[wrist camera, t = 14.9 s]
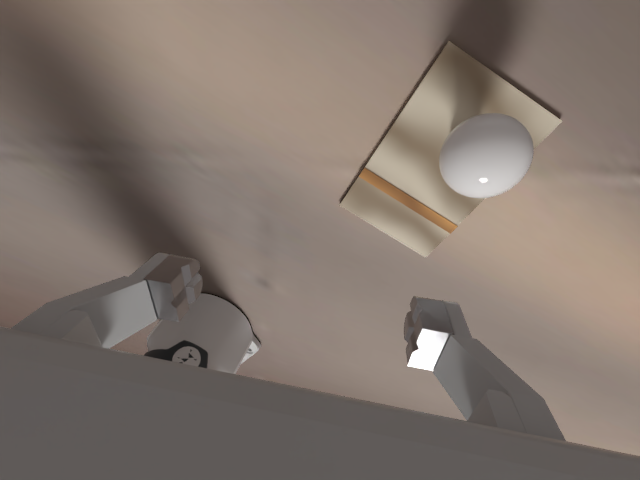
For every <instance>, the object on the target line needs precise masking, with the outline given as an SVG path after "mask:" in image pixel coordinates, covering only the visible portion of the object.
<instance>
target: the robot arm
mask: <svg viewBox="0 0 640 480" xmlns="http://www.w3.org/2000/svg"><path fill="white" fill-rule="evenodd" d="M199 270H200V263H199V261H198V260H197V259H193V258H187V257H182V256H177V255H171V254H166V253H156V254H155V255H154V256H153V257H152V258H150V259H149V260H148V261H147V262H146V263H144V264H143V265H142V266H141V267H140V268H138V269H137V270H136V271H135V272H134V273H132V274H131V275H130V276H129V277H126V276H124V277H121V278H118V279H115V280H112V281H109V282H106V283H103V284H100V285H97V286H95V287H92V288H89V289H86V290H83V291H80V292H77V293H74V294H71V295H68V296H65V297H63V298H60V299H57V300H54V301H51V302H48V303H46V304H44V305H43V306H42V307H40V308H39V309H37V310H36V311H35V312H33V313H32V314H30V315H29V316H27V317H26V318H25V319H23V320H22V321H20V322H19V323H18V324H16V325H15V326H13V327H12V328H11V329H10V328H5V327H0V480H640V456H636V455H631V454H626V453H621V452H616V451H611V450H606V449H601V448H596V447H591V446H587V445H582V444H577V443H572V442H567V441H566V440H565V438H564V436H563V435H562V433H561V431H560V429H559V427H558V425H557V423H556V421H555V419H554V417H553V416H552V414H551V412H550V410H549V408H548V406H547V404H546V402H545V400H544V399H543V398H542V397H541V396H540V395H539V394H538V393H537V392H535V391H534V390H533V389H532V388H531V387H530V386H529V385H528V384H526V383H525V382H524V381H523V380H522V379H521V378H520V377H519V376H518V375H516V374H515V373H514V372H513V371H512V370H511V369H510V368H509V367H507V366H506V365H505V364H504V363H503V362H502V361H501V360H500V359H499V358H497V357H496V356H495V355H494V354H493V353H492V352H491V351H490V350H488V349H487V348H486V347H485V346H484V345H483V344H482V343H481V342H480V341H478V340H477V339H474V338H472V336H471V333H470V331H469V328H468V326H467V323H466V321H465V318H464V316H463V313H462V310H461V308H460V305H459V304H458V303H457V302H450V301H443V300H442V301H441V300H435V299H429V298H423V297H417V296H414V297H413V298H412V300H411V303H410V307H411V311H410V312H408V313H407V315H406V318H405V323H404V339H405V340H406V341H407V342H408V345H407V347H406V355H407V362H408V366H412V367H417V368H421V369H426V370H431V371H433V373H434V375H435V376H436V377H437V379H438V380H439V382H440V383H441V384H442V386H443V387H444V389H445V390H446V392H447V393H448V394H449V396H450V397H451V399H452V400H453V401H454V403H455V404H456V406H457V407H458V409H459V410H460V411H461V413H462V414H463V416H464V417H465V418H466V420H467V421H463V420H458V419H453V418H449V417H444V416H439V415H434V414H429V413H424V412H419V411H414V410H409V409H404V408H399V407H394V406H390V405H385V404H380V403H375V402H370V401H365V400H360V399H355V398H350V397H345V396H340V395H335V394H330V393H325V392H321V391H316V390H311V389H306V388H301V387H296V386H291V385H286V384H281V383H276V382H271V381H266V380H261V379H256V378H252V377H247V376H242V375H237V374H235V373H236V372H237V370H238V368H239V366H240V364H242V363H243V362H244V361H246V360H247V359H248V358H250V357H251V356H252V355H253V354H255V353H256V352H257V351H258V350H259V348H260V347H261V345H260V343H259V341H258V340H257V339H256V337H255V336H254V335H253V332H252V329H251V326H250V323H249V322H248V320H247V318H246V317H245V316H244V314H243V313H242V312H241V311H240V310H239V309H238V308H236V307H235V306H234V305H232V304H231V303H229V302H228V301H226V300H224V299H222V298H219V297H217V296H214V295H210V294H203V293H201V290H202V286H203V281H202V277H201V276H200V275H199V273H198V271H199ZM157 319H161V320H160V322H159V323H158V324H157V325H156V327H155V328H154V329H153V330H152V332H151V333H150V334H149V335H148V337H147V341H148V342H147V347H148V352H147V353H146V354H145V355H144V356H143V355H138V354H133V353H128V352H123V351H118V350H113V349H109V348H111V347H112V346H114V345H116V344H117V343H119V342H121V341H122V340H124V339H126V338H127V337H129V336H131V335H133V334H134V333H136V332H138V331H139V330H141V329H143V328H144V327H146V326H148V325H149V324H151V323H153V322H154V321H156V320H157Z"/></svg>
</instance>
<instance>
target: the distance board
mask: <svg viewBox="0 0 640 480" xmlns="http://www.w3.org/2000/svg"><path fill="white" fill-rule="evenodd" d="M485 113H501V114H506V115H509V116H511V117H513V118H515V119H517V120H519V121H520V122H521V123H522V124H523V125H524V126H525V127H526V128H527V129H528V131H529V133H530V135H531V137H532V140H533V145H534V149H535V148H536V147H537V146H538V145H539V144H540V143H541V142H542V141H543V140H544V139H545V138H546V137H547V136H548V135H549V134H550V133H551V132H552V131H553V130H554V129H555V128H556V127H557V126H558V125H559V124H560V123H561V122H562V121H561V120H560V119H559V118H557V117H556V116H554V115H553V114H552V113H550V112H549V111H547V110H546V109H545V108H543V107H542V106H540V105H539V104H538V103H536V102H535V101H533V100H532V99H530V98H529V97H528V96H526V95H525V94H523V93H522V92H521V91H519V90H518V89H516V88H515V87H514V86H512V85H511V84H509V83H508V82H506V81H505V80H504V79H502V78H501V77H499V76H498V75H497V74H495V73H494V72H492V71H491V70H490V69H488V68H487V67H485V66H484V65H483V64H481V63H480V62H478V61H477V60H475V59H474V58H473V57H471V56H470V55H468V54H467V53H466V52H464V51H463V50H461V49H460V48H459V47H457V46H456V45H454V44H453V43H451V42H450V41H448V42H447V44H446V45H445V47H444V48H443V50H442V51H441V53H440V54H439V56H438V57H437V59H436V60H435V62H434V63H433V65H432V66H431V68H430V69H429V71H428V72H427V74H426V75H425V77H424V78H423V80H422V81H421V83H420V84H419V86H418V87H417V89H416V90H415V92H414V93H413V95H412V96H411V98H410V99H409V101H408V102H407V104H406V105H405V107H404V108H403V110H402V111H401V113H400V114H399V116H398V117H397V119H396V120H395V122H394V123H393V125H392V126H391V128H390V129H389V131H388V132H387V134H386V135H385V137H384V138H383V140H382V141H381V143H380V144H379V146H378V147H377V149H376V150H375V152H374V153H373V155H372V156H371V158H370V159H369V161H368V162H367V164H366V165H365V167H364V168H363V170H362V171H361V173H360V174H359V176H358V177H357V179H356V180H355V182H354V183H353V185H352V186H351V188H350V189H349V191H348V192H347V194H346V195H345V197H344V198H343V200H342V201H341V203H340V205H339V206H341V207H343V208H344V209H346V210H348V211H349V212H351V213H353V214H354V215H356V216H358V217H359V218H361V219H363V220H364V221H366V222H367V223H369V224H371V225H372V226H374V227H376V228H377V229H379V230H381V231H382V232H384V233H386V234H387V235H389V236H391V237H392V238H394V239H396V240H397V241H399V242H400V243H402V244H404V245H405V246H407V247H409V248H410V249H412V250H414V251H415V252H417V253H419V254H420V255H422V256H424V257H425V258H426V257H427V256H428V255H429V254H430V253H431V252H432V251H433V250H434V249H435V248H436V247H437V246H438V245H439V244H440V243H441V242H442V241H443V240H444V239H445V238H446V237H447V236H448V235H449V234H451V233H452V232H453V231H454V230H455V229H456V228H457V227H458V225H459V224H460V223H461V222H462V221H463V220H464V219H465V218H466V217H467V216H468V215H469V214H470V213H471V212H472V211H473V210H474V209H475V208H476V207H477V206H478V205H479V204H480V203H481V202H482V201H483V200H484V199H485V198H470V197H466V196H463V195H461V194H459V193H457V192H455V191H454V190H453V189H451V188H450V187H449V186H448V185H447V184H446V182H445V181H444V179H443V177H442V175H441V172H440V168H439V155H440V151H441V148H442V145H443V143H444V141H445V139H446V138H447V136H448V135H449V134H450V132H451V131H452V130H453V129H454V128H455V127H456V126H458V125H459V124H460V123H462V122H463V121H465V120H467V119H469V118H471V117H473V116H476V115H480V114H485Z"/></svg>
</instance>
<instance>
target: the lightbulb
mask: <svg viewBox="0 0 640 480" xmlns="http://www.w3.org/2000/svg"><path fill="white" fill-rule="evenodd" d="M533 154H534V145H533V140H532V137H531V135H530V133H529V131H528V129H527V128H526V127H525V126H524V125H523V124H522V123H521V122H520V121H519V120H517V119H515V118H513V117H511V116H509V115H506V114H501V113H485V114H480V115H476V116H473V117H471V118H469V119H467V120H465V121H463V122H462V123H460V124H459V125H458V126H456V127H455V128H454V129H453V130H452V131H451V132H450V134H449V135H448V136H447V138H446V139H445V141H444V143H443V145H442V148H441V151H440V155H439V168H440V172H441V175H442V177H443V179H444V181H445V182H446V184H447V185H448V186H449V187H450V188H451V189H453V190H454V191H455V192H457V193H459V194H461V195H463V196H466V197H470V198H490V197H494V196H497V195H500V194H502V193H504V192H506V191H508V190H510V189H511V188H513V187H514V186H515V185H516V184H518V183H519V182H520V181H521V180H522V178H523V177H524V176H525V174H526V173H527V171H528V170H529V168H530V165H531V163H532V159H533Z"/></svg>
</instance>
